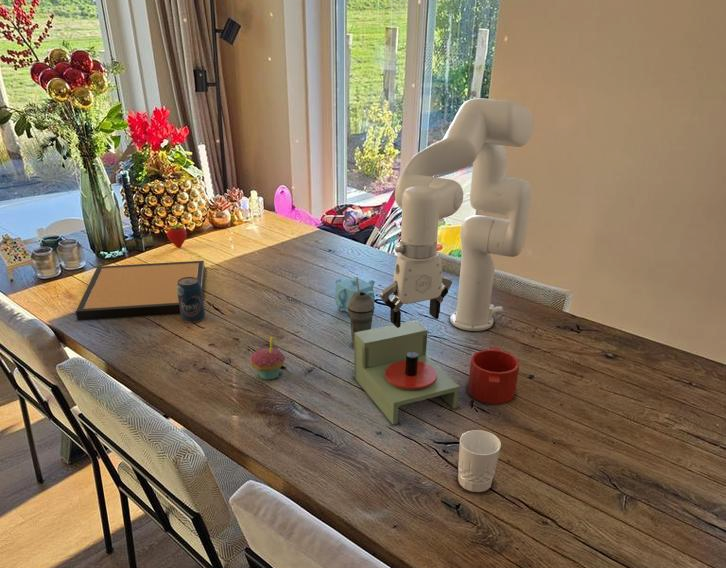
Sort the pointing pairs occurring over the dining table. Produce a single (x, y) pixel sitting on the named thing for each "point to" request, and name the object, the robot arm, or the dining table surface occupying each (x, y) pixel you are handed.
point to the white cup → (477, 460)
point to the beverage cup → (360, 311)
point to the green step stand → (390, 347)
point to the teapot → (351, 291)
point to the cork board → (136, 289)
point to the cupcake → (267, 361)
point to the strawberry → (177, 235)
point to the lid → (411, 373)
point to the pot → (493, 376)
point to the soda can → (190, 299)
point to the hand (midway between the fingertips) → (415, 320)
